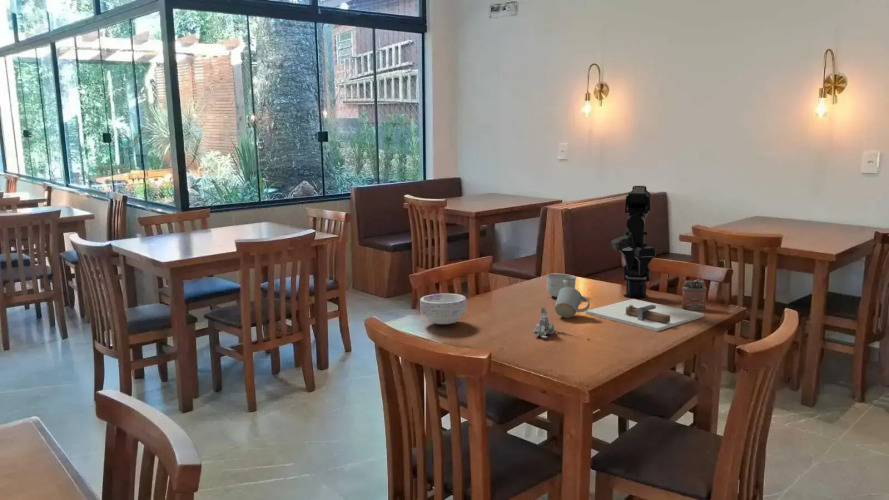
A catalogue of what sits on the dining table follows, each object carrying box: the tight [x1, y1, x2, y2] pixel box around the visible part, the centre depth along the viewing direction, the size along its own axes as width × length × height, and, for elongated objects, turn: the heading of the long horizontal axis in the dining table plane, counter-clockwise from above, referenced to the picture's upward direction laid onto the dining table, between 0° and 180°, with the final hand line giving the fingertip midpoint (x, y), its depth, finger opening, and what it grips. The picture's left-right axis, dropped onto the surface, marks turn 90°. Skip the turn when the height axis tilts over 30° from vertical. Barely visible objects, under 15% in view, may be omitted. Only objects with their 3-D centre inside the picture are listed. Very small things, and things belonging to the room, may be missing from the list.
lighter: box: [681, 279, 708, 311], centre depth 232 cm, size 8×3×10 cm, turn 84°
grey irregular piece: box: [533, 307, 564, 338], centre depth 206 cm, size 9×9×8 cm
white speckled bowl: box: [419, 293, 467, 325], centre depth 221 cm, size 15×15×8 cm
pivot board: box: [585, 298, 705, 332], centre depth 225 cm, size 28×26×1 cm
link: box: [626, 305, 670, 323], centre depth 217 cm, size 16×3×3 cm, turn 38°
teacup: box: [546, 273, 577, 298], centre depth 252 cm, size 14×11×8 cm
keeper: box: [638, 305, 656, 321], centre depth 218 cm, size 2×7×4 cm, turn 128°
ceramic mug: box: [554, 287, 591, 319], centre depth 223 cm, size 11×8×8 cm
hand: (634, 272), depth 236 cm, fingers open, 9 cm apart
